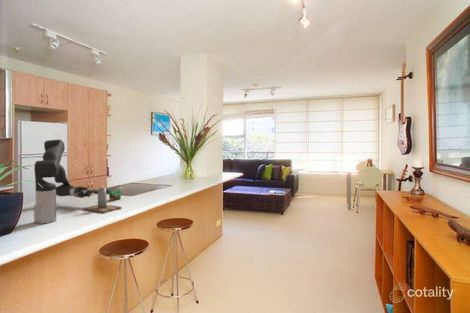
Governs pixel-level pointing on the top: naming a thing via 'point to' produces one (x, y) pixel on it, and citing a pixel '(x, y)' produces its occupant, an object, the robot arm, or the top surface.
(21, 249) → the top surface
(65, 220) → the top surface
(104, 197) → the slate bottle
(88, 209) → the walnut board
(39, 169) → the robot arm
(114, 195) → the food container
